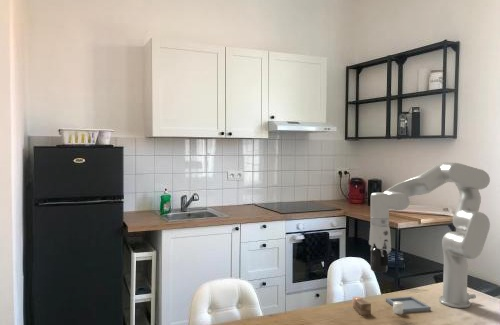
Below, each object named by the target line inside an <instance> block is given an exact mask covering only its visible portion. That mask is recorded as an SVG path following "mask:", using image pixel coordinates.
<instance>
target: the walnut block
mask: <svg viewBox="0 0 500 325" xmlns="http://www.w3.org/2000/svg"><path fill="white" fill-rule="evenodd" d="M354 310H355V312H356V313H357V314H358V315H360V316H367V315H371V314H372V313H371V312H372V303H370V302H369V301H368V300H366V299H363V300H356V306H355V309H354Z"/></svg>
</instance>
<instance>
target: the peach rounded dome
mask: <svg viewBox="0 0 500 325" xmlns="http://www.w3.org/2000/svg"><path fill="white" fill-rule="evenodd" d="M356 300H364V299H363V297H361V296H353V297H352V308H353V309H354V310H355V306H356Z"/></svg>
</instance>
